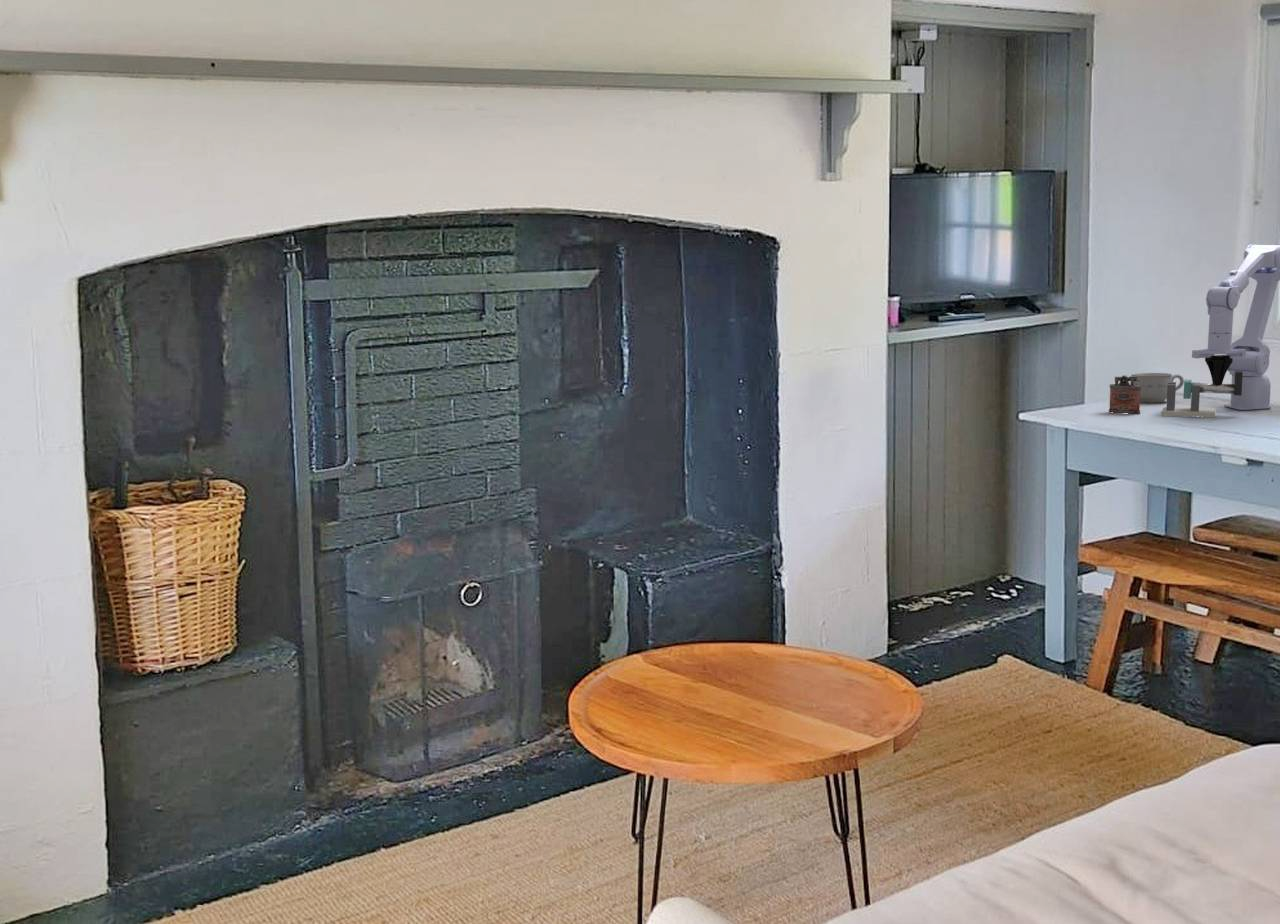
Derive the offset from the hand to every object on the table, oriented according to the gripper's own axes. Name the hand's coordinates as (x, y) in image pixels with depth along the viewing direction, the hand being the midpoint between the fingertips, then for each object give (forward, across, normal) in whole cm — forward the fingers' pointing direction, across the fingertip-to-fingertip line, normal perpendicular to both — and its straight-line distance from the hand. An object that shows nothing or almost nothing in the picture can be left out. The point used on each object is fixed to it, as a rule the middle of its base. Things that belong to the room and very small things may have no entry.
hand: (1217, 385), depth 407 cm
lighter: (+8, +20, -11) cm, 24 cm away
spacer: (+4, +6, -4) cm, 8 cm away
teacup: (+8, +1, -26) cm, 27 cm away
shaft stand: (+8, +6, -4) cm, 11 cm away
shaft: (+2, +1, 0) cm, 2 cm away
